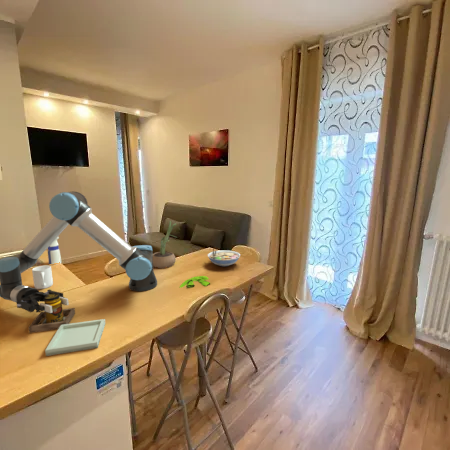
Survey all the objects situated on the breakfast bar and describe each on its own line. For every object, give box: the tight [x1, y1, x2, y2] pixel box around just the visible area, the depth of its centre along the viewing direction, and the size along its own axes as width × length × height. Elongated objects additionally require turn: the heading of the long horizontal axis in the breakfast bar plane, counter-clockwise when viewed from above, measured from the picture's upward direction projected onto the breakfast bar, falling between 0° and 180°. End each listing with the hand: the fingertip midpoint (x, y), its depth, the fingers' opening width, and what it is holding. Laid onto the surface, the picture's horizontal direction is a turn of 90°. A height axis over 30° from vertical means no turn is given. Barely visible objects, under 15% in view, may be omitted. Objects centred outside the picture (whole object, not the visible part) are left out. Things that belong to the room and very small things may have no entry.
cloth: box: [179, 275, 211, 289], centre depth 147 cm, size 20×22×2 cm
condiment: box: [41, 294, 67, 324], centre depth 106 cm, size 7×8×12 cm
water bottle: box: [47, 236, 62, 265], centre depth 181 cm, size 8×9×25 cm
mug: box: [31, 264, 54, 290], centre depth 142 cm, size 9×12×11 cm
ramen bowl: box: [207, 248, 241, 267], centre depth 179 cm, size 25×23×8 cm
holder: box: [27, 307, 76, 334], centre depth 107 cm, size 13×12×2 cm
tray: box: [44, 318, 106, 357], centre depth 97 cm, size 16×16×2 cm
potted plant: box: [152, 220, 181, 269], centre depth 179 cm, size 22×18×30 cm
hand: (59, 305), depth 104 cm, fingers closed on condiment, 6 cm apart
